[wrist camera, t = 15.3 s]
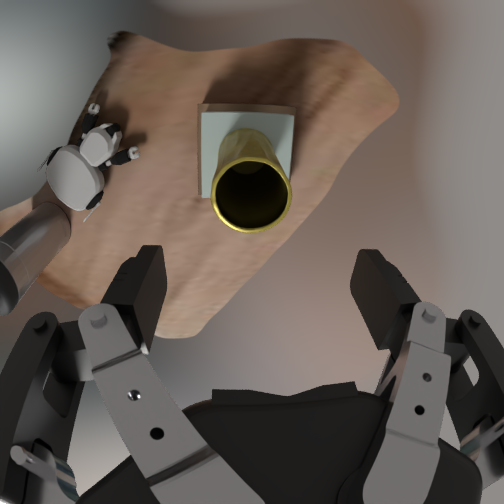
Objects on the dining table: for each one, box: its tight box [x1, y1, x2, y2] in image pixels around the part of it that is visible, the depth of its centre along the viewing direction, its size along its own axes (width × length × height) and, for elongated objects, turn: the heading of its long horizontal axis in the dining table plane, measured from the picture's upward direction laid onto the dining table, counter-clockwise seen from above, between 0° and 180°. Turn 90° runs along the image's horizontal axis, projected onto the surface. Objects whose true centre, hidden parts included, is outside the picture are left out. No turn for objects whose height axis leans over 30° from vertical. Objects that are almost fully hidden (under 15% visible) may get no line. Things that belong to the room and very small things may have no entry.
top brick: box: [201, 111, 294, 198], centre depth 31 cm, size 10×10×4 cm
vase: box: [210, 128, 292, 233], centre depth 23 cm, size 6×6×14 cm
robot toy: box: [38, 103, 140, 222], centre depth 34 cm, size 12×4×15 cm
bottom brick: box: [198, 103, 297, 195], centre depth 35 cm, size 12×12×4 cm
